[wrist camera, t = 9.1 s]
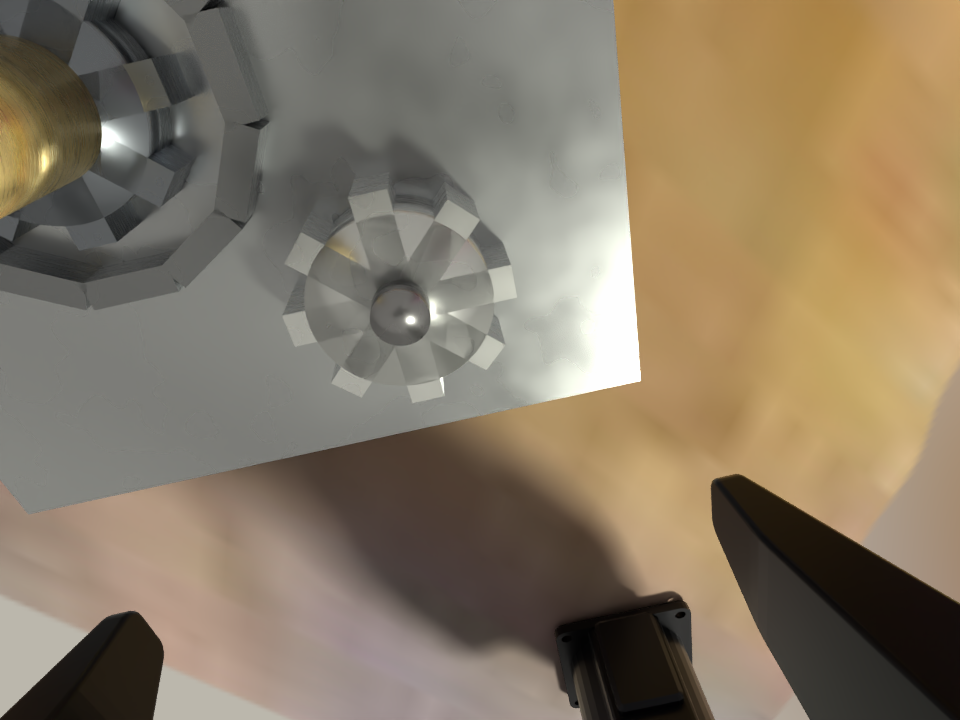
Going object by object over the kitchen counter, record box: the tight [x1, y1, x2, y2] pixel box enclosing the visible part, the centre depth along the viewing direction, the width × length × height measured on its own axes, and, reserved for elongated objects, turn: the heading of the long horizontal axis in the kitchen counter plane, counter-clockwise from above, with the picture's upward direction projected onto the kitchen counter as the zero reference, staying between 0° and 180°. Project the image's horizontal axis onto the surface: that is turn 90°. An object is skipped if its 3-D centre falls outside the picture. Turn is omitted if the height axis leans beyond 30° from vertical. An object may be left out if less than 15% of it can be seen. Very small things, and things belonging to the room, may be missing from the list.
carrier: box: [0, 0, 641, 514], centre depth 16 cm, size 20×22×4 cm
